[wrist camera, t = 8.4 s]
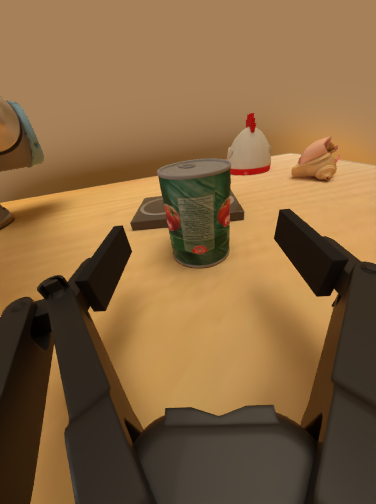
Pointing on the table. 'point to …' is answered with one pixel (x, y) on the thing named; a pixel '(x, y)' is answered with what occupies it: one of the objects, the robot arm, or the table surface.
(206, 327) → the table surface
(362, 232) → the table surface
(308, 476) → the robot arm
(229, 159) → the kitchen timer
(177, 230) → the canned tomato
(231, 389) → the table surface
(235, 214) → the hob
